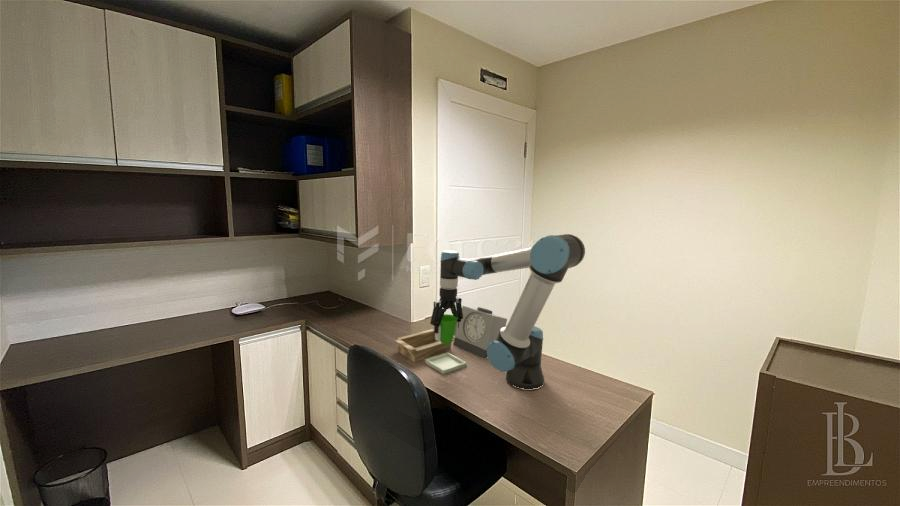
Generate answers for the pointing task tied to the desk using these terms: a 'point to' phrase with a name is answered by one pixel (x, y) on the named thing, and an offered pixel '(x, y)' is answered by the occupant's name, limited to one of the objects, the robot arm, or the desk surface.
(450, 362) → the tray
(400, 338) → the wooden box
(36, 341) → the desk surface
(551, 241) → the robot arm
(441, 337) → the cup
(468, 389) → the desk surface
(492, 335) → the alarm clock
